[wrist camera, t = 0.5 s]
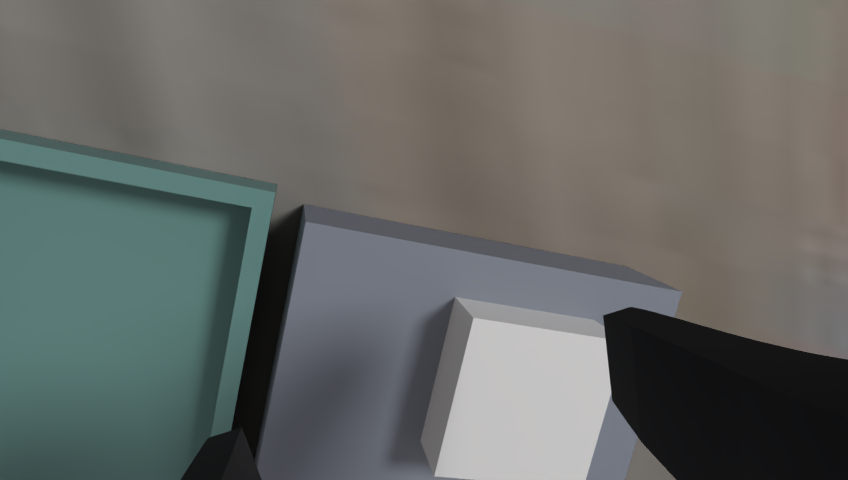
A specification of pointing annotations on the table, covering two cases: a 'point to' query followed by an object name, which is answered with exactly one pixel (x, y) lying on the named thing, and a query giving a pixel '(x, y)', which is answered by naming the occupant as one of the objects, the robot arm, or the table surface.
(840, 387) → the robot arm
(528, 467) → the tile
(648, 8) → the table surface
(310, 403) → the board
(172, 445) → the box
